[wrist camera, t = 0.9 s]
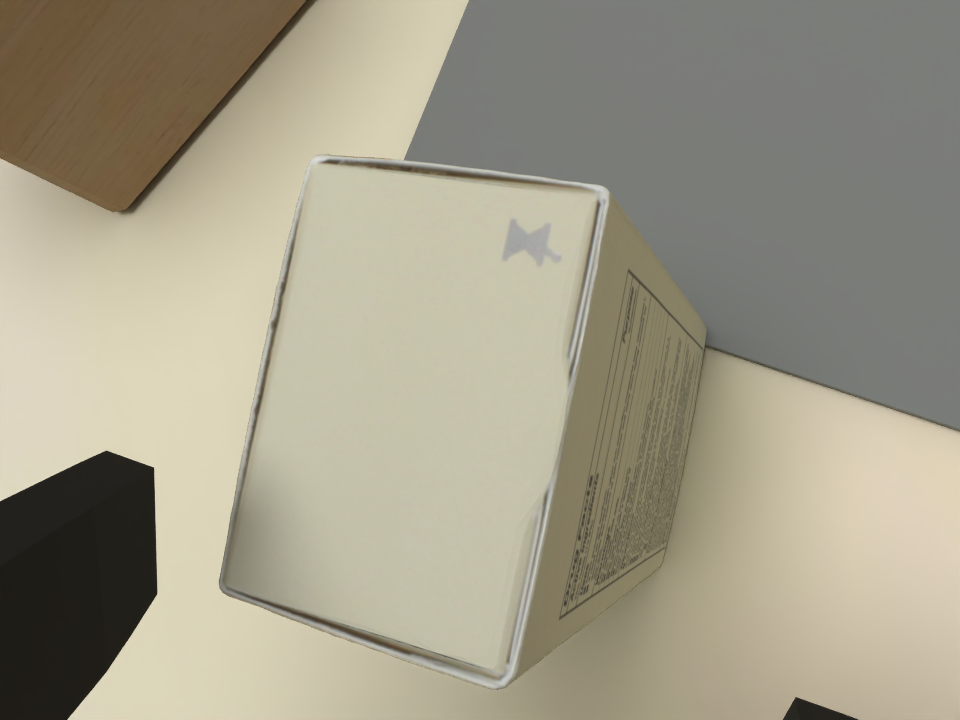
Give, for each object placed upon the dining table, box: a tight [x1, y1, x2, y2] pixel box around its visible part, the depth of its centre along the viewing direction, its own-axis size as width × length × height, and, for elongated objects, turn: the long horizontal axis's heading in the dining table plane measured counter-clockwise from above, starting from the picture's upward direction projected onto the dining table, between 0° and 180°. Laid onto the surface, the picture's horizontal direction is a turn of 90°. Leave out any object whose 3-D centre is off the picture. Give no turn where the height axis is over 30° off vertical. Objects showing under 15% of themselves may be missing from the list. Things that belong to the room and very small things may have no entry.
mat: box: [404, 0, 960, 431], centre depth 23 cm, size 16×16×1 cm
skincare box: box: [219, 155, 707, 690], centre depth 17 cm, size 6×4×12 cm
